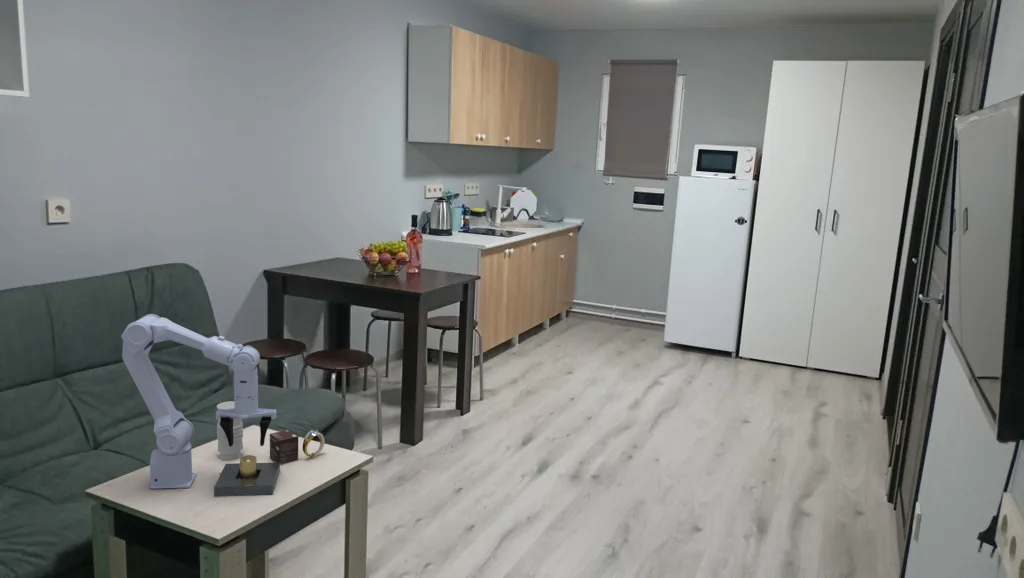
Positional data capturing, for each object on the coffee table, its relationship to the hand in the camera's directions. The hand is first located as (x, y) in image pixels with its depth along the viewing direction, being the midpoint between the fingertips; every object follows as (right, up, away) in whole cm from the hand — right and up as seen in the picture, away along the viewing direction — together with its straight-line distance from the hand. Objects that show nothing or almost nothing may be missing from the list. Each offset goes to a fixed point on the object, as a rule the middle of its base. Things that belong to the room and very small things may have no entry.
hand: (246, 444), depth 186 cm
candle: (-11, -7, +17) cm, 22 cm away
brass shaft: (0, -10, +1) cm, 10 cm away
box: (+4, -8, +17) cm, 19 cm away
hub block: (0, -10, +1) cm, 10 cm away
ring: (+12, -8, +20) cm, 24 cm away
